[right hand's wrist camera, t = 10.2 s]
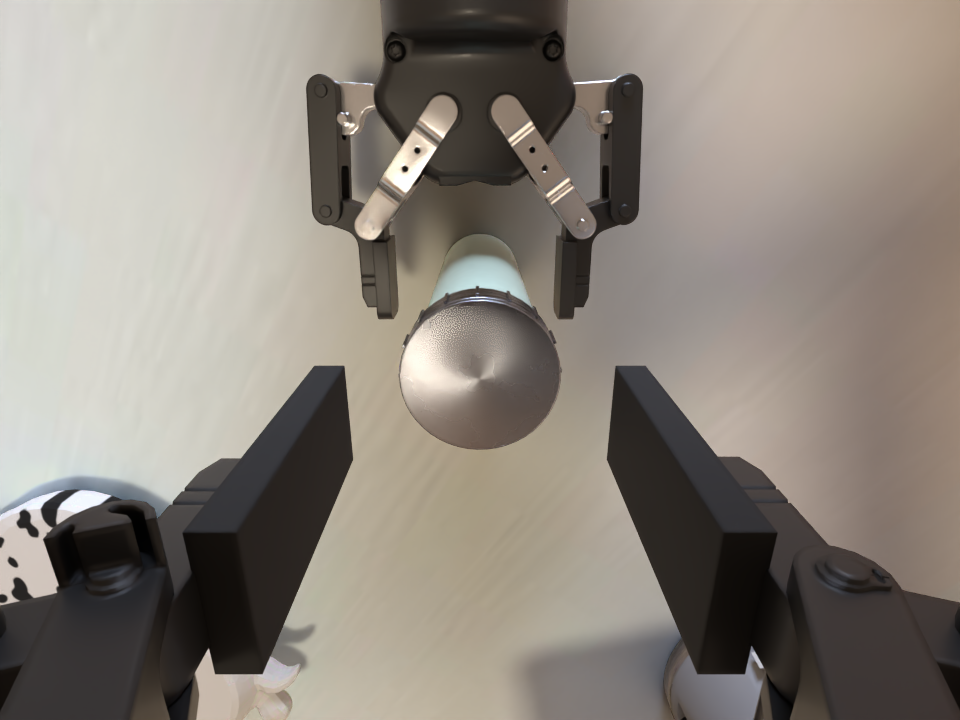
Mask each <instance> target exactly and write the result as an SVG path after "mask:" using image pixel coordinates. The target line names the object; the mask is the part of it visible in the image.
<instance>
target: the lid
mask: <svg viewBox="0 0 960 720" xmlns="http://www.w3.org/2000/svg"><path fill="white" fill-rule="evenodd" d="M555 343H556V341H555V338H554V336H553V333H552V331H551V330H549V331H548V328H547V327H546V325H545V323H544V322H543V320H542V319H541V317H540V316H539V315H538V313H537V310H536V308H535V307H534V306H533V307H532V308H531V307H530V306H529V305H528V304H527V303H525V302H524V301H522V300H521V299H519V298H517V297H515V296H513V295H511V294H510V291H508V290H507V291H506V292H503V291H499V290H495V289H488V288H479V286H476V288H471V289H465V290H460V291H457V292H454V293H451V294H449V293H448V292H447V293H445V296H444V297H442V298H441V299H439V300H438V301H436V302H435V303H433V304H432V305H431V306H430V307H428V308H427V309H426V310H425V311H424V310H422V311H421V313H420V315H419V318H418V320H417V321H416V323H415V325H414V327H413V329H412V331H411V333H410V335H408V334H407V336H406V338H405V341H404V343H403V346H402V348H404V351H403V354H402V357H401V362H400V369H399V380H400V388H401V392H402V396H403V398H404V401H405V404H406V406H407V407H408V409H409V411H410V413H411V414H412V416H413V417H414V418H415V420H416V421H417V422H418V423H419V424H420V425H421V426H422V427H423V428H424V429H425V430H426V431H428V432H429V433H430V434H432V435H433V436H435V437H436V438H438V439H440V440H442V441H444V442H446V443H448V444H451V445H454V446H457V447H462V448H467V449H477V450H478V449H493V448H499V447H502V446H506V445H509V444H511V443H514V442H516V441H518V440H520V439H522V438H524V437H525V436H527V435H528V434H530V433H531V432H532V431H534V430H535V429H536V428H537V427H538V426H539V425H540V424H541V423H542V422H543V421H544V419H545V418H546V417H547V416H548V414H549V412H550V411H551V409H552V407H553V405H554V403H555V401H556V398H557V395H558V392H559V387H560V381H561V372H562V369H561V367H560V361H559V357H558V354H557V351H556V348H555V346H554V344H555Z"/></svg>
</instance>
